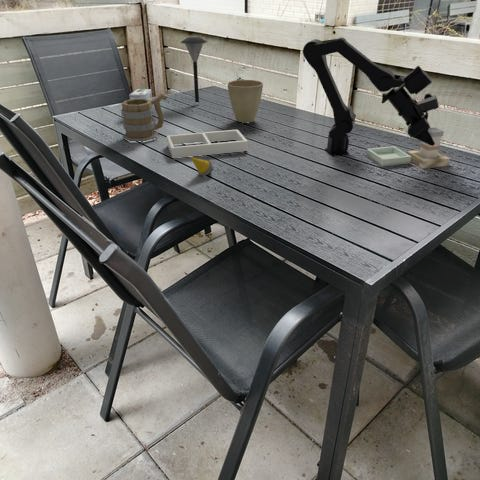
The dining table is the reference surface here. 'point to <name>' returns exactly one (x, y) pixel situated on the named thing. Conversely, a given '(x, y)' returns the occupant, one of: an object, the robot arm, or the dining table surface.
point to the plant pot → (245, 98)
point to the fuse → (427, 149)
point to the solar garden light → (194, 57)
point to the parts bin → (207, 143)
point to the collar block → (428, 160)
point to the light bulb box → (141, 94)
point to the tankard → (142, 118)
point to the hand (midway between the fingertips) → (433, 140)
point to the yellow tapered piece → (202, 166)
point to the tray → (388, 156)
